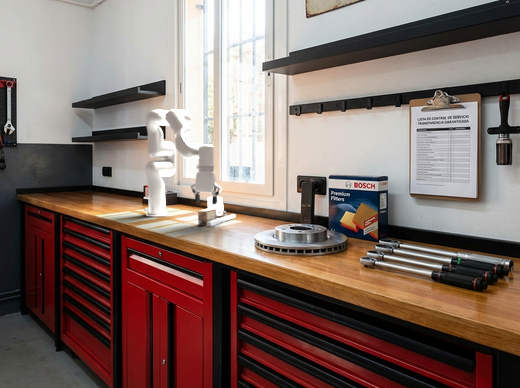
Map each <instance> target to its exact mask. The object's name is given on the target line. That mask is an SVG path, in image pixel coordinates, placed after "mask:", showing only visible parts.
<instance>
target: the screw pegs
mask: <svg viewBox="0 0 520 388" xmlns="http://www.w3.org/2000/svg"><path fill="white" fill-rule="evenodd" d="M225 216H227V210H223V213H222V217H225ZM198 226H200V227H201V226H202V227H203V226H204V225H203V218H199V225H198Z"/></svg>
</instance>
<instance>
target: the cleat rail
mask: <svg viewBox="0 0 520 388" xmlns="http://www.w3.org/2000/svg"><path fill="white" fill-rule="evenodd" d="M236 216H237V215H236V213H235V214H234V213H231V214H227V215H226V216H225V217H223V216H222V217H219V218H216V219H215V220H212V221H209V222H207V225H206V226H207V227H213V226H217V225H219V224H222V223H225V222H227V221H231V220H233V219H236Z"/></svg>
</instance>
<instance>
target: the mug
mask: <svg viewBox="0 0 520 388" xmlns="http://www.w3.org/2000/svg"><path fill="white" fill-rule="evenodd" d="M212 197H213V196H209V197H207V209H208V208H210V209H216V218H217V217H221V216H222V217H223V211H224V209H225V208H224V203H223V197H222V196H217V203H216V204H212Z"/></svg>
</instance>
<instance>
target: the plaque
mask: <svg viewBox="0 0 520 388" xmlns="http://www.w3.org/2000/svg"><path fill="white" fill-rule="evenodd" d="M197 216H198V218H197V220H198V221H197V222H198V226H199V218H203V225H202V226H207V222H209V221H212V220H215V219H217V217H216V209H210V208H208V207H207V208H205V209H201V210H198V211H197Z"/></svg>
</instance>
